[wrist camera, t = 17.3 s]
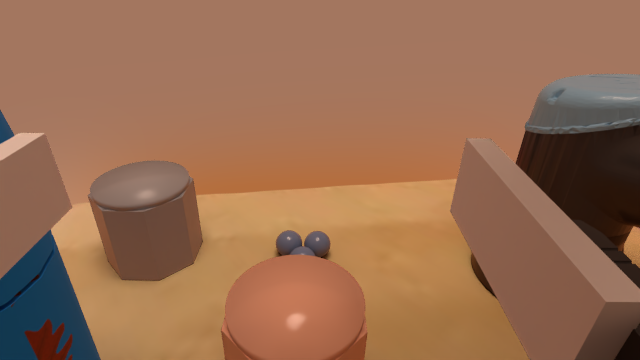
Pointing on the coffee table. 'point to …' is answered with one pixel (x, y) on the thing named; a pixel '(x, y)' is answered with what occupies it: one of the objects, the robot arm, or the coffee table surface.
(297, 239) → the marble
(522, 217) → the robot arm
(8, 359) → the thermos
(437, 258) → the coffee table surface
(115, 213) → the brown octagonal jar
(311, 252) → the marble
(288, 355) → the octagonal lidded canister
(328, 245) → the marble
